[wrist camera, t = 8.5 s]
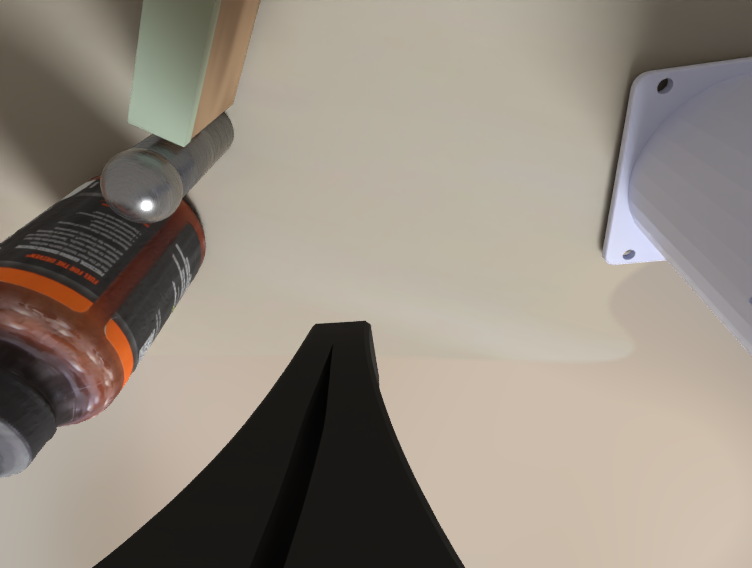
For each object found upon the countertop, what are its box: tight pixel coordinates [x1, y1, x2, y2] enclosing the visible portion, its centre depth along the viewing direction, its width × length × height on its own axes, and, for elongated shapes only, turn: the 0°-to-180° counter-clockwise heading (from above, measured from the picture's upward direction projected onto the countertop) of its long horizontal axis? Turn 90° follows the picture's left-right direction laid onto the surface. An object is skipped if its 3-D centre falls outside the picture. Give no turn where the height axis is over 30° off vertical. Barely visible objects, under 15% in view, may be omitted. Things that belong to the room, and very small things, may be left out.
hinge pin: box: [100, 113, 234, 224], centre depth 15 cm, size 2×2×7 cm
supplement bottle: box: [0, 176, 206, 478], centre depth 16 cm, size 6×6×11 cm
